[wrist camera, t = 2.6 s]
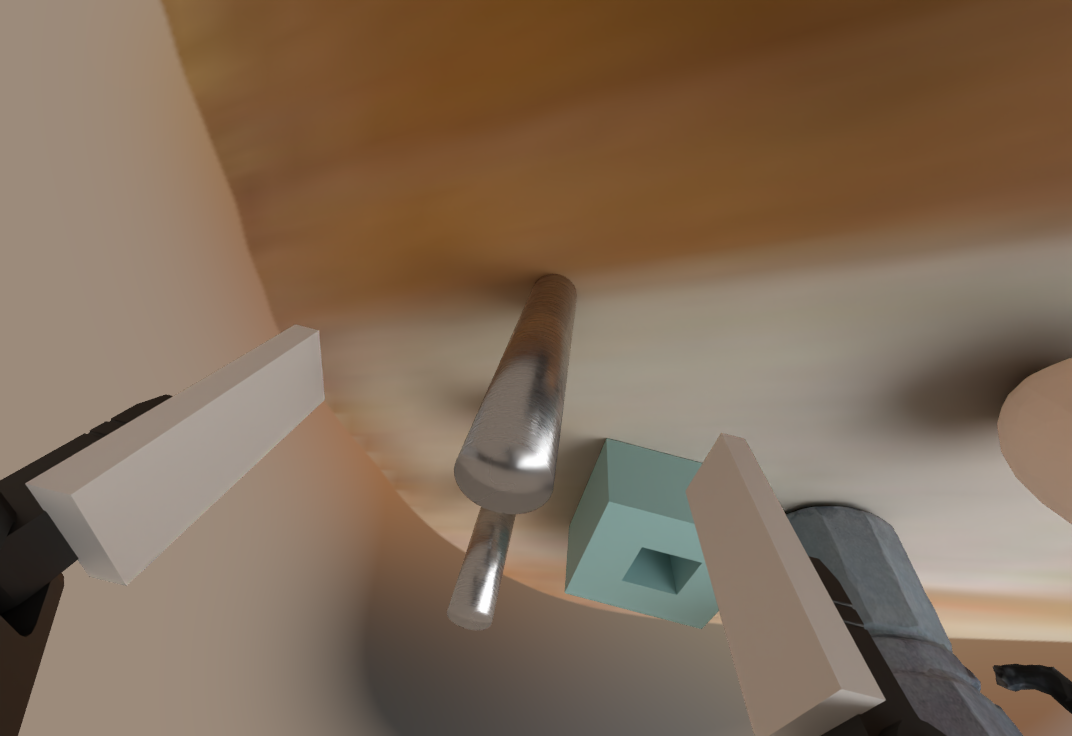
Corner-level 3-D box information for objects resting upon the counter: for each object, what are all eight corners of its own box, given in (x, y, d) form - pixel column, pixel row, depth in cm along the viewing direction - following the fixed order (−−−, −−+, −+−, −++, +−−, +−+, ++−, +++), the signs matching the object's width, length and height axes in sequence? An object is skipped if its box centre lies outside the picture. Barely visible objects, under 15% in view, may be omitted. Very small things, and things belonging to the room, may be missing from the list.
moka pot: (694, 540, 30) (822, 1049, 13) (914, 452, 24) (1749, 1250, 7) (756, 599, 33) (931, 1085, 16) (970, 535, 26) (1666, 1254, 9)
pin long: (536, 268, 21) (460, 429, 9) (582, 280, 21) (565, 456, 9) (527, 311, 22) (449, 499, 10) (569, 322, 22) (540, 523, 10)
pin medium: (492, 468, 29) (449, 599, 21) (524, 476, 29) (495, 612, 21) (487, 490, 31) (444, 622, 22) (518, 498, 31) (487, 634, 22)
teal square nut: (606, 438, 26) (609, 501, 22) (745, 474, 26) (778, 546, 22) (569, 526, 32) (564, 592, 27) (685, 557, 31) (701, 629, 27)
